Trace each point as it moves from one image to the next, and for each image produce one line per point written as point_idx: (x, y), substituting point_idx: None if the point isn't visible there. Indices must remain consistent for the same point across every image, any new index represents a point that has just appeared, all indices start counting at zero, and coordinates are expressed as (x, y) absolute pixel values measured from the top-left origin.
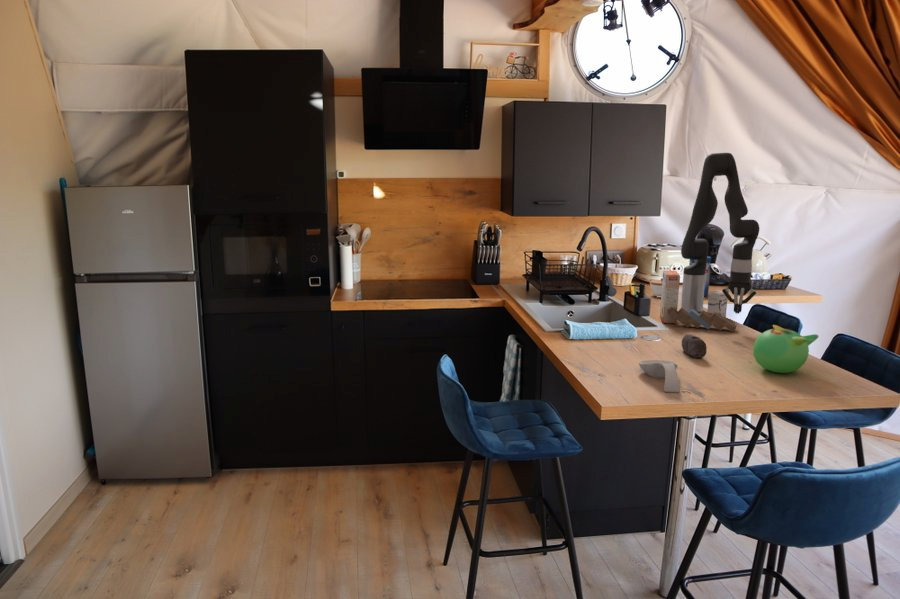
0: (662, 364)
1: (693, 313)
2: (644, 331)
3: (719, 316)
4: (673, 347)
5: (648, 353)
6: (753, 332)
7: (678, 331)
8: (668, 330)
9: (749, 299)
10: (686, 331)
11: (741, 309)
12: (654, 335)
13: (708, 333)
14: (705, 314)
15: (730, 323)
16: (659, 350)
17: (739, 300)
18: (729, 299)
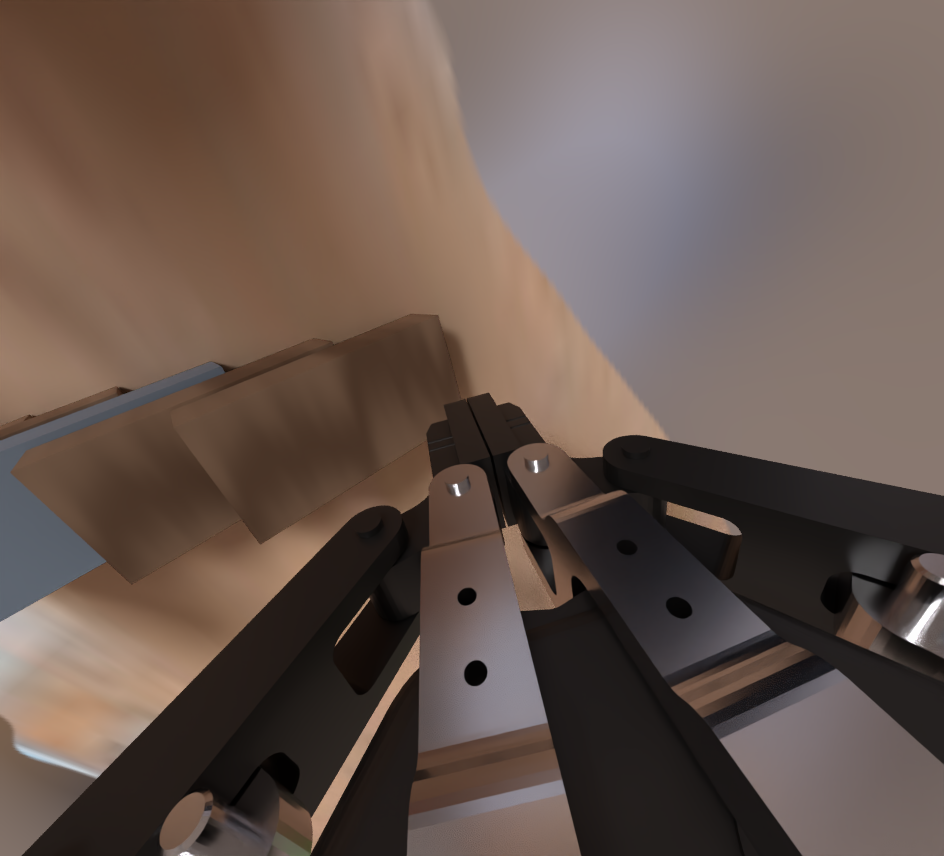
0: None
1: (46, 588)
2: (24, 715)
3: (308, 484)
4: (340, 768)
5: (320, 831)
6: (565, 305)
7: (155, 605)
8: (90, 624)
9: (727, 558)
10: (190, 576)
11: (525, 423)
12: (142, 726)
13: (325, 532)
14: (177, 556)
15: (412, 417)
16: (325, 805)
17: (547, 578)
18: (379, 635)
